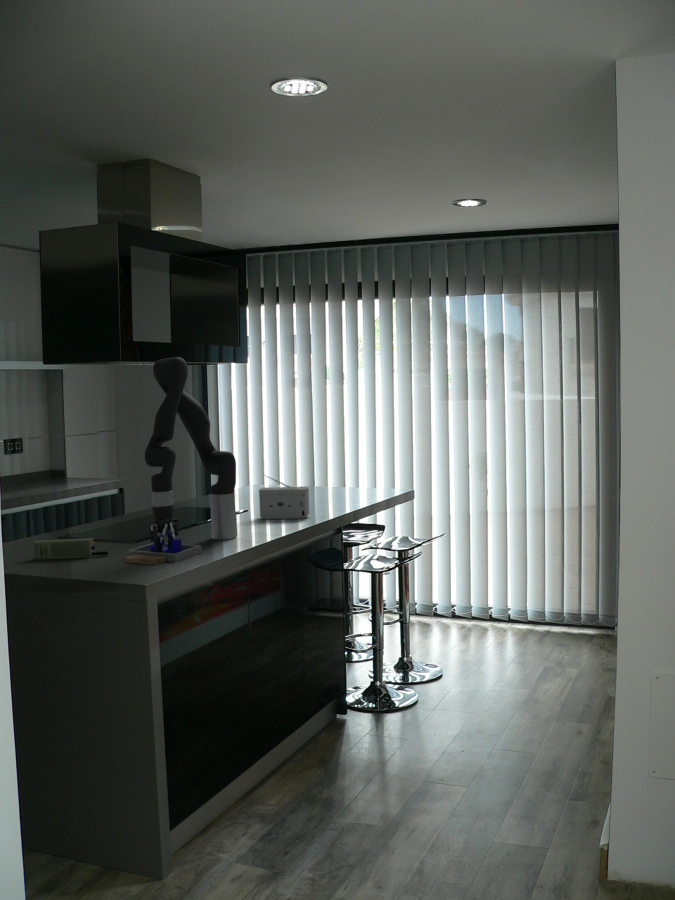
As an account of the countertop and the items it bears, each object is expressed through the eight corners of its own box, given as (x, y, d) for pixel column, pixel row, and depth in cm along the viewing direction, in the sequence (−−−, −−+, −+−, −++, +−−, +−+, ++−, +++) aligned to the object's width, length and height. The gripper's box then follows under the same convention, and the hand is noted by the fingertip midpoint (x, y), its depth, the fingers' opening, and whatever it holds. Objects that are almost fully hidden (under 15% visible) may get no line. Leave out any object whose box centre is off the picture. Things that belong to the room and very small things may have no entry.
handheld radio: (37, 558, 300) (109, 555, 301) (34, 561, 297) (107, 557, 298) (36, 540, 299) (108, 536, 300) (33, 542, 296) (106, 539, 297)
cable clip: (151, 554, 300) (150, 537, 300) (161, 552, 303) (160, 535, 303) (171, 558, 292) (170, 541, 291) (182, 556, 295) (181, 539, 295)
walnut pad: (134, 559, 293) (134, 554, 292) (165, 561, 287) (165, 557, 287) (125, 562, 288) (124, 557, 288) (156, 564, 282) (155, 560, 282)
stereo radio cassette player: (309, 516, 370) (308, 470, 368) (307, 519, 361) (305, 472, 360) (262, 517, 372) (260, 471, 370) (258, 520, 364) (256, 473, 362)
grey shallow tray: (155, 549, 308) (154, 542, 308) (201, 552, 300) (201, 545, 299) (127, 557, 295) (127, 550, 295) (175, 561, 286) (175, 554, 286)
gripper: (166, 500, 304) (169, 546, 305) (140, 506, 291) (143, 555, 293) (184, 500, 301) (186, 547, 302) (158, 507, 288) (161, 556, 289)
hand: (165, 551), depth 297 cm, fingers open, 6 cm apart
